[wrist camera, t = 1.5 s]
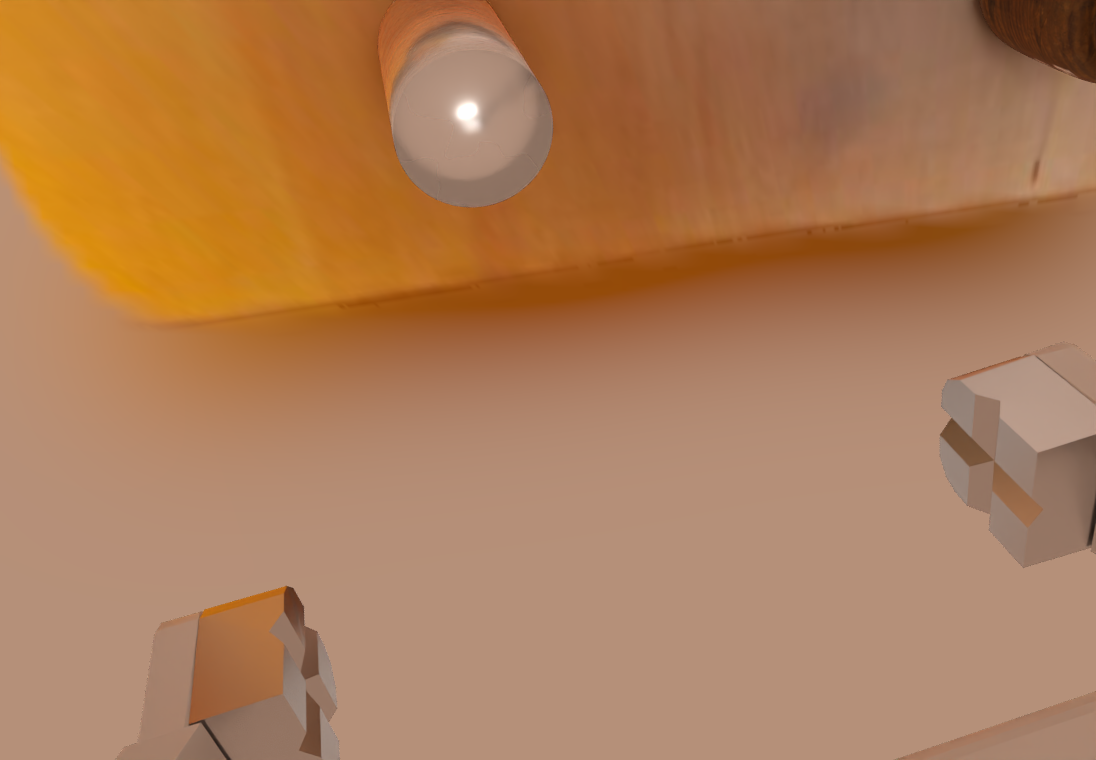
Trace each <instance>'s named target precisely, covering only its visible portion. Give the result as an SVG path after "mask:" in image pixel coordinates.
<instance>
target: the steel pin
mask: <svg viewBox="0 0 1096 760" xmlns="http://www.w3.org/2000/svg"><path fill="white" fill-rule="evenodd" d="M378 55H379V61H380V67H381V72H382V78H383V84H384V89H385V95H386V101H387V106H388V112H389V118H390V123H391V129H392V135H393V140H394V146H395V150H396V153H397V156H398V159H399V161H400V164H401V166H402V167H403V169H404V171H405V172H406V174H407V175H408V177H409V178H410V179H411V180H412V182H413V183H414V184H415V185H416V186H418V187H419V188H420V189H421V190H422V191H424V192H425V193H426V194H428V195H429V196H431V197H433V198H435V199H436V200H439V201H441V202H444V203H447V204H450V205H454V206H460V207H482V206H488V205H492V204H496V203H499V202H501V201H504V200H506V199H508V198H510V197H512V196H514V195H515V194H517V193H518V192H520V191H521V190H522V189H523V188H525V187H526V186H527V185H528V184H529V183H530V182H531V181H532V180H533V179H534V178H535V176H536V175H537V174H538V172H539V171H540V169H541V168H542V166H543V164H544V162H545V160H546V158H547V156H548V153H549V150H550V146H551V142H552V135H553V118H552V112H551V107H550V104H549V101H548V98H547V96H546V94H545V92H544V90H543V88H542V86H541V85H540V83H539V82H538V80H537V79H536V77H535V75H534V74H533V72H532V71H531V69H530V67H529V66H528V64H527V63H526V61H525V59H524V58H523V56H522V55H521V53H520V51H519V50H518V48H517V47H516V45H515V43H514V42H513V40H512V39H511V37H510V36H509V34H508V32H507V31H506V29H505V28H504V26H503V24H502V23H501V21H500V20H499V18H498V16H497V15H496V13H495V12H494V10H493V8H492V7H491V6H490V4H489V3H488V2H487V1H486V0H395V1H394V2H393V3H392V4H391V6H390V7H389V8H388V10H387V12H386V13H385V15H384V17H383V20H382V22H381V25H380V29H379V34H378Z"/></svg>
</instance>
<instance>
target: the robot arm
mask: <svg viewBox="0 0 1096 760" xmlns="http://www.w3.org/2000/svg"><path fill="white" fill-rule="evenodd" d="M941 407H942V408H943V409H944V410H945V411H946V412H947V413H948V414H949V415H950V416H951V417H952V418H951V420H950V421H949V422H948V424H947V425H946V427H945V428H944V430H943V431H942V433H941V434H940V458H941V461H942V465H943V468H944V471H945V474H946V477H947V479H948V481H949V482H950V484H951V486H952V487H953V489H954V491H955V492H956V493H957V495H958V496H959V497H960V498H961V499H962V500H963V502H964V503H965V504H966V505H967V506H969V507H972V508H975V509H978V510H980V511H983V512H986V513H989V514H990V520H989V531H990V532H991V533H992V534H993V535H994V536H995V538H996V539H997V540H998V541H999V542H1000V543H1001V544H1002V545H1003V546H1004V547H1005V549H1006V550H1007V551H1008V552H1009V553H1010V554H1011V555H1012V556H1013V557H1014V559H1015V560H1016V561H1017V562H1018V563H1019V564H1020V565H1021V566H1022V567H1023V568H1025V567H1028V566H1031V565H1034V564H1038V563H1041V562H1044V561H1048V560H1051V559H1055V558H1058V557H1062V556H1065V555H1068V554H1071V553H1075V552H1078V551H1081V550H1085V549H1088V548H1091V552H1093V553H1095V554H1096V360H1095V359H1093V358H1092V357H1091V356H1089V355H1088V354H1086V353H1085V352H1084V351H1083V350H1081V349H1080V348H1078V347H1077V346H1076V345H1074V344H1070V343H1066V342H1061V343H1058V344H1055V345H1052V346H1049V347H1046V348H1043V349H1040V350H1037V351H1034V352H1031V353H1028V354H1025V355H1024V356H1022V357H1017V358H1014V359H1011V360H1007V361H1004V362H1001V363H998V364H995V365H992V366H989V367H986V368H982V369H980V370H976V371H973V372H970V373H967V374H964V375H961V376H958V377H955V378H951V379H948V380H947V382H946V384H945V386H944V388H943V390H942V402H941ZM304 625H305V624H304V606H303V605H302V603H301V601H300V599H299V597H298V595H297V594H296V592H295V590H294V588H292V587H289V586H285V587H281V588H278V589H275V590H271V591H268V592H264V593H261V594H257V595H253V596H250V597H246V598H243V599H240V600H236V601H233V602H229V603H226V604H222V605H219V606H215V607H212V608H208V609H205V610H204V611H203V612H198V613H194V614H191V615H187V616H184V617H180V618H177V619H173V620H170V621H166V622H163V623H161V625H160V626H159V628H158V629H157V631H156V632H155V634H154V640H153V646H152V653H151V659H150V666H149V673H148V678H147V685H146V691H145V698H144V704H143V711H142V718H141V724H140V731H139V737H138V743H135V744H132V745H129V746H126V747H124V748H123V750H122V751H121V752H120V754H119V755H118V756H117V758H116V759H115V760H340V757H339V741H338V739H337V737H336V735H335V733H334V731H333V730H332V728H331V726H330V724H329V721H330V719H331V718H332V716H333V714H334V713H335V711H336V709H337V700H336V687H335V682H334V677H333V672H332V667H331V663H330V660H329V657H328V655H327V652H326V649H325V646H324V644H323V642H322V640H321V638H320V636H319V634H318V632H317V631H315V630H312V629H310V628H308V627H306V626H304ZM895 760H1096V691H1095V692H1092V693H1089V694H1086V695H1083V696H1080V697H1077V698H1074V699H1071V700H1068V701H1065V702H1063V703H1060V704H1056V705H1054V706H1051V707H1048V708H1045V709H1042V710H1039V711H1036V712H1033V713H1030V714H1027V715H1024V716H1021V717H1018V718H1016V719H1013V720H1010V721H1007V722H1004V723H1001V724H998V725H995V726H992V727H989V728H986V729H983V730H980V731H978V732H975V733H971V734H969V735H966V736H963V737H960V738H957V739H954V740H951V741H948V742H945V743H942V744H939V745H936V746H933V747H931V748H927V749H925V750H922V751H919V752H916V753H913V754H910V755H907V756H904V757H901V758H898V759H895Z"/></svg>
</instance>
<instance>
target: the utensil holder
mask: <svg viewBox="0 0 1096 760" xmlns="http://www.w3.org/2000/svg"><path fill="white" fill-rule="evenodd" d="M980 5H981V9H982V13H983V15H984V18H985V20H986V22H987V24H988V25H989V27H990V28H991V30H992V31H993V32H994V33H995V35H996V36H997V37H998V38H999V39H1001V40H1002V41H1003V42H1004V43H1006V44H1007V45H1008V46H1010V47H1012V48H1013V49H1015V50H1017V51H1019V52H1020V53H1022V54H1024V55H1026V56H1028V57H1030V58H1033V59H1035V60H1037V61H1039V62H1041V63H1043V64H1046V65H1048V66H1050V67H1052V68H1054V69H1057V70H1059V71H1061V72H1064V73H1066V74H1068V75H1071V76H1073V77H1076V78H1079V79H1082V80H1085V81H1088V82H1092V83H1096V0H980Z"/></svg>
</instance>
